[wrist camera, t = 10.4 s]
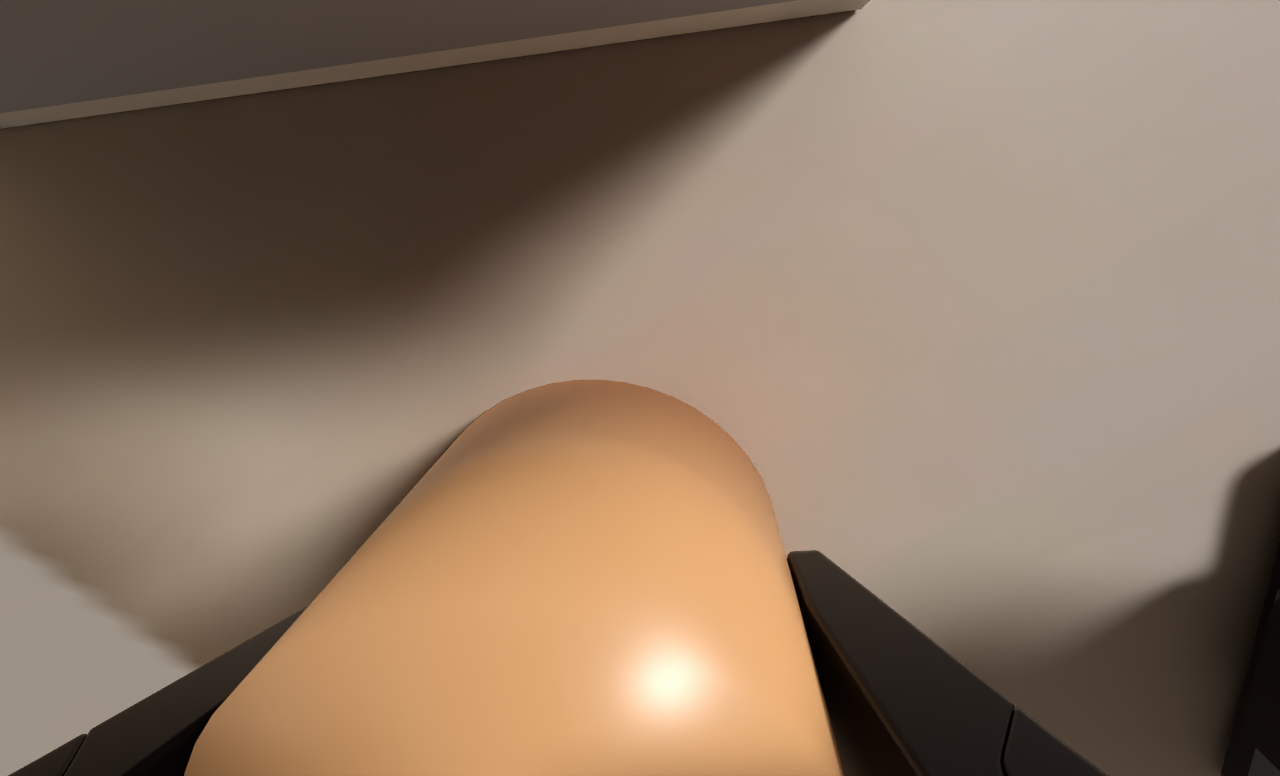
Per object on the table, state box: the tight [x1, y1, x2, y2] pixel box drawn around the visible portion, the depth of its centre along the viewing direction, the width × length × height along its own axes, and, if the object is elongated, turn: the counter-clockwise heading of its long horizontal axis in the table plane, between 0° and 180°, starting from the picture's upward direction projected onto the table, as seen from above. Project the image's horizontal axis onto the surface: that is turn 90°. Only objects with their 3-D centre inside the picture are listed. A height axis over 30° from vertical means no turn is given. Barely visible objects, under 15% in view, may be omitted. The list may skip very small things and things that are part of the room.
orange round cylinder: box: [184, 380, 845, 776], centre depth 7 cm, size 6×6×5 cm
